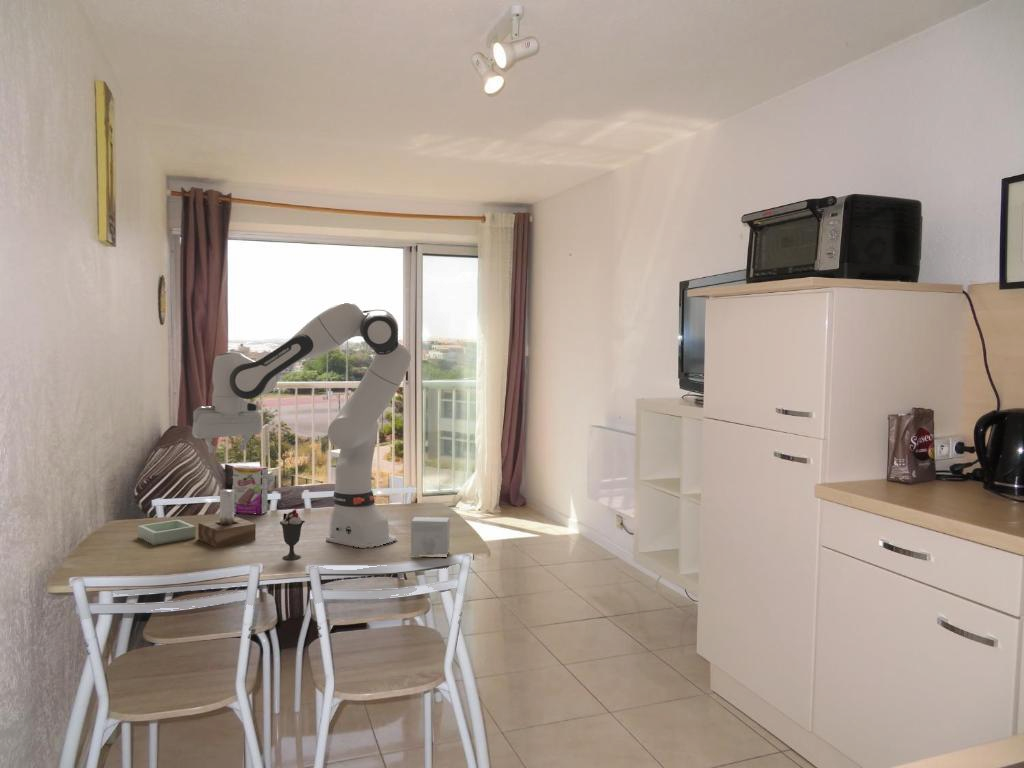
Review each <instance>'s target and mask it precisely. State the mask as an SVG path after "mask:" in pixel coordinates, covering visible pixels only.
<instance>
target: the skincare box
mask: <svg viewBox="0 0 1024 768" xmlns="http://www.w3.org/2000/svg"><path fill="white" fill-rule="evenodd" d="M450 520H451V519H450V517H437V516H436V517H428V516H426V517H425V516H424V517H423V516H414V517H413V519H411V521H410V525H411V527H410V533H411V534H410V536H411V537H410V557H411V556H419V555H434V554H436V555H437V554H447V553H448V550H449V551H450V531H451V530H450V525H451V524H450Z"/></svg>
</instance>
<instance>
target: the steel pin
mask: <svg viewBox="0 0 1024 768" xmlns="http://www.w3.org/2000/svg"><path fill="white" fill-rule="evenodd" d="M219 497H220V498H219V520H220V526H227V525H233V524H234V517H235V513H234V490H233V489H232V488H231V489H230V488H227V489H220V491H219Z"/></svg>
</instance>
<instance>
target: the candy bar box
mask: <svg viewBox="0 0 1024 768" xmlns="http://www.w3.org/2000/svg"><path fill="white" fill-rule="evenodd" d="M231 473H232V479H231V482H232V483H231V484H232V485H231V489H233V490H234V514H237V515H238V514H240V515H241V514H242V515H254V513H256V514H263V512H266V513H268V487H269V483H268V481H269V467H268V466H254V465H236V466H234V467H232V472H231ZM263 515H264V514H263Z"/></svg>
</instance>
